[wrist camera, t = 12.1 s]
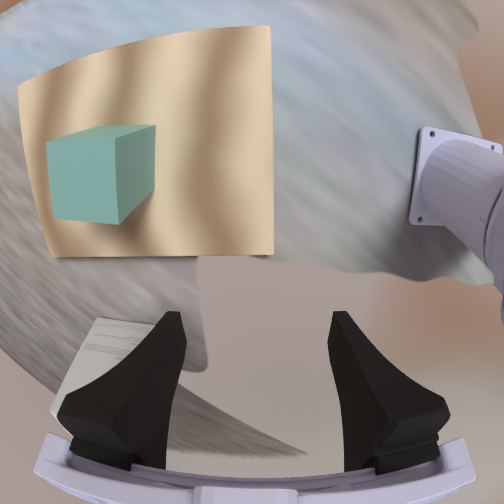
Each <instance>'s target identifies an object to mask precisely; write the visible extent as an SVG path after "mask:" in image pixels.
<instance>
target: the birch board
mask: <svg viewBox="0 0 504 504" xmlns="http://www.w3.org/2000/svg"><path fill="white" fill-rule="evenodd" d="M18 101H19V113H20V123H21V131H22V138H23V145H24V152H25V157H26V163H27V168H28V173H29V178H30V183H31V187H32V192H33V196H34V200H35V204H36V208H37V211H38V215H39V218H40V222H41V225H42V229H43V232H44V235H45V238H46V242H47V245H48V248H49V251H50V253H51V256H52V257H135V256H216V255H217V256H219V255H220V256H221V255H274V164H273V104H272V67H271V38H270V26H242V27H226V28H215V29H205V30H197V31H189V32H183V33H176V34H170V35H165V36H160V37H155V38H150V39H145V40H141V41H137V42H132V43H128V44H125V45H121V46H117V47H114V48H110V49H107V50H103V51H100V52H97V53H94V54H91V55H88V56H85V57H82V58H79V59H77V60H74V61H71V62H69V63H66V64H63V65H61V66H58V67H56V68H54V69H51V70H49V71H47V72H44V73H42V74H40V75H38V76H35V77H33V78H31V79H29V80H27V81H25V82H23V83H21V84H19V85H18ZM112 125H156V136H155V189H154V190H153V191H152V192H151V193H150V194H149V195H148V196H147V197H146V198H145V199H144V200H143V201H142V202H141V203H140V204H139V205H138V206H137V207H136V208H135V209H134V210H133V211H132V212H131V213H130V214H129V215H128V216H127V217H126V218H125V219H124V220H123V221H122V222H121V223H120V224H119V225H116V224H106V223H95V222H83V221H72V220H61V219H54V215H53V208H52V201H51V194H50V186H49V176H48V165H47V151H46V142H48V141H51V140H54V139H57V138H60V137H63V136H66V135H69V134H73V133H76V132H79V131H83V130H86V129H89V128H93V127H97V126H112Z"/></svg>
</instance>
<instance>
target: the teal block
mask: <svg viewBox="0 0 504 504" xmlns="http://www.w3.org/2000/svg"><path fill="white" fill-rule="evenodd" d="M155 136H156V125H112V126H97V127H93V128H89V129H86V130H83V131H79V132H76V133H73V134H69V135H66V136H63V137H60V138H57V139H54V140H51V141H48V142H46V151H47V165H48V176H49V186H50V194H51V201H52V208H53V215H54V219H61V220H72V221H83V222H95V223H106V224H116V225H119V224H120V223H121V222H122V221H123V220H124V219H125V218H126V217H127V216H128V215H129V214H130V213H131V212H132V211H133V210H134V209H135V208H136V207H137V206H138V205H139V204H140V203H141V202H142V201H143V200H144V199H145V198H146V197H147V196H148V195H149V194H150V193H151V192H152V191H153V190H154V189H155Z"/></svg>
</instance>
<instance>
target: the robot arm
mask: <svg viewBox="0 0 504 504" xmlns="http://www.w3.org/2000/svg"><path fill="white" fill-rule="evenodd" d="M431 131H432V133H433V134H432V136H431V137H430V132H431ZM491 146H492V149H491ZM502 151H503V149H502V146H501V145H500V144H498V143H494V142H490V141H487V140H484V139H480V138H476V137H472V136H468V135H464V134H460V133H456V132H451V131H446V130H442V129H437V128H432V127H426V126H423V127H422V128H421V129H420V133H419V145H418V156H417V165H416V173H415V181H414V188H413V194H412V201H411V207H410V212H409V222H410V223H411V224H412V225H431V226H445V227H446V228H447V229H448V230H450V231H451V232H452V233H453V234H454V235H455V236H456V237H457V238H458V239H459V240H460V241H461V242H462V243H463V244H465V245H466V246H467V247H468V248H469V249H470V250H471V251H472V252H473V253H474V254H475V255H476V256H477V257H478V258H479V259H480V260H481V261H482V262H483V263H484V264H485V265H486V266H487V267H488V269H489V270H490V271H491V272H492V274H493V276H494V286H495V287H496V288H497V289H498V290H499V292H501V294H502V295H503V298H502V302H501V309H500V310H501V319H502V322H503V324H504V155H502ZM419 217H421V219H420V220H419V221H418V218H419ZM186 343H187V340H186V336H185V332H184V328H183V324H182V320H181V315H180V312H174V311H167V312H166V313H165V315H164V316H163V317H162V318H161V319H160V321H159V322H158V323H157V324H156V325H155V327H154V328H153V329H152V330H151V331H150V332H149V333H148V335H147V336H146V337H145V338H144V339H143V340H142V341H141V342H140V343H139V344H138V345H137V346H136V347H135V348H134V349H133V350H132V351H131V352H130V353H129V354H128V355H127V356H126V357H125V358H124V359H123V360H122V361H120V362H119V363H118V364H117V365H116V366H114V367H113V368H112V369H110V370H109V371H107V372H106V373H105V374H103V375H102V376H100V377H99V378H97V379H95V380H94V381H92V382H90V383H88V384H87V385H85V386H83V387H81V388H79V389H77V390H75V391H72V392H70V393H68V394H66V396H65V398H64V400H63V402H62V404H61V406H60V408H59V411H58V413H57V416H56V417H57V419H58V421H59V422H60V424H61V425H62V426H63V427H64V428H65V429H66V430H67V431H68V432H69V433H70V434H71V435H72V436H73V439H72V442H71V441H70V440H68V439H66V438H64V437H61V436H58V435H56V434H53V433H51V432H48V434H47V436H46V439H45V441H44V443H43V446H42V448H41V451H40V454H39V456H38V459H37V462H36V465H35V467H34V470H33V471H34V473H35V474H37V475H38V476H40V477H42V478H43V479H45V480H46V481H48V482H49V483H51V484H53V485H54V486H56V487H58V488H59V489H61V490H63V491H66V492H68V493H70V494H72V495H75V496H77V497H80V498H82V499H84V500H87V501H89V502H92V503H95V504H429V503H432V502H434V501H436V500H439V499H442V498H444V497H446V496H449V495H451V494H452V493H454V492H456V491H458V490H459V489H461V488H463V487H464V486H466V485H468V484H469V483H471V482H472V481H474V480H475V479H476V475H475V472H474V468H473V465H472V462H471V459H470V455H469V452H468V450H467V446H466V444H465V440H464V438H463V437H460V438H457V439H454V440H452V441H449V442H446V443H444V444H442V445H440V446H438V445H437V441H438V440H439V436H438V433H437V432H438V431H439V430H440V429H441V428H442V427H443V426H444V425H445V424H446V423H447V421H448V420H449V418H450V415H451V414H450V412H449V409H448V406H447V404H446V402H445V400H444V398H443V397H442V396H440V395H438V394H436V393H433V392H432V391H430V390H428V389H426V388H424V387H423V386H421V385H420V384H418V383H416V382H415V381H413V380H412V379H410V378H409V377H408V376H406V375H405V374H404V373H402V372H401V371H400V370H399V369H397V368H396V367H395V366H394V365H393V364H392V363H390V362H389V361H388V360H387V359H386V358H385V357H384V356H383V355H382V354H381V353H380V352H379V351H378V350H377V349H376V347H375V346H374V345H373V344H372V343H371V342H370V341H369V340H368V338H367V337H366V336H365V335H364V333H363V332H362V331H361V330H360V329H359V327H358V326H357V325H356V323H355V322H354V321H353V319H352V318H351V317H350V315H349V314H348V313H347V312H346V311H334V312H333V317H332V322H331V327H330V332H329V337H328V350H329V358H330V363H331V367H332V371H333V375H334V379H335V383H336V388H337V392H338V395H339V401H340V406H341V416H342V426H343V438H344V439H343V440H344V472H343V473H336V474H328V475H318V476H307V477H291V478H234V477H218V476H206V475H197V474H189V473H181V472H174V471H168V470H166V449H167V437H168V428H169V420H170V413H171V406H172V401H173V397H174V393H175V390H176V386H177V383H178V379H179V375H180V372H181V369H182V365H183V362H184V357H185V350H186Z"/></svg>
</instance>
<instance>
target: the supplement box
mask: <svg viewBox="0 0 504 504" xmlns="http://www.w3.org/2000/svg"><path fill="white" fill-rule="evenodd" d="M154 327H155V325H151V324H142V323H134V322H127V321H120V320H113V319H107V318H100V317H97V319H96V321H95V322H94V324H93V326H92V328H91V329H90V331H89V333H88V335H87V336H86V338H85V340H84V342H83V344H82V346H81V347H80V349H79V351H78V353H77V355H76V357H75V359H74V361H73V363H72V364H71V366H70V368H69V370H68V372H67V374H66V376H65V378H64V380H63V382H62V385H61V387H60V388H59V391H58V393H57V395H56V397H55V399H54V401H53V404H52V406H51V408H50V412H51V413H52V415H53V416H54V417H55V419H56V420H57V421H58V419H57V417H56V416H57V413H58V411H59V408H60V406H61V404H62V402H63V400H64V398H65V396H66V394H68V393H70V392H72V391H75V390H77V389H79V388H81V387H83V386H85V385H87V384H88V383H90V382H92V381H94V380H95V379H97V378H99V377H100V376H102V375H103V374H105V373H106V372H107V371H109V370H110V369H112V368H113V367H114V366H116V365H117V364H118V363H119V362H120V361H122V360H123V359H124V358H125V357H126V356H127V355H128V354H129V353H130V352H131V351H132V350H133V349H134V348H135V347H136V346H137V345H138V344H139V343H140V342H141V341H142V340H143V339H144V338H145V337H146V336H147V335H148V333H149V332H150V331H151V330H152V329H153V328H154ZM58 422H59V421H58ZM59 423H60V422H59ZM63 428H64V427H63ZM64 429H65V428H64ZM65 430H66V429H65ZM66 431H67V430H66ZM67 432H68V431H67ZM68 433H69V432H68ZM69 434H70V433H69ZM70 435H71V434H70ZM71 436H72V435H71ZM72 437H73V436H72Z"/></svg>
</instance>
